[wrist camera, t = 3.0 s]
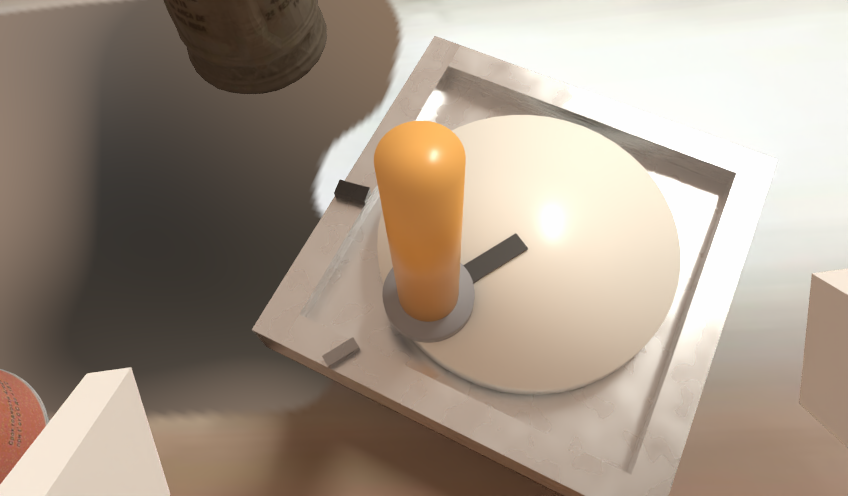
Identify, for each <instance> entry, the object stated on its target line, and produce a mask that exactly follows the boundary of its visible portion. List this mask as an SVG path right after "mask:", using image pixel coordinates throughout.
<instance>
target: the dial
mask: <svg viewBox="0 0 848 496" xmlns="http://www.w3.org/2000/svg"><path fill="white" fill-rule="evenodd" d="M374 168H375V173H376V179H377V184H378V189H379V195H380V200H381V206H382V212H381V217H380V222H379V227H378V239H377V252H378V263H379V268H380V273H381V277H382V281H383V292H382V297H383V304H384V308H385V312H386V315H387V317H388V319H389V321H390V323H391V324H392V325H393V327H394V328H395V329H396V330H397V331H398V332H399V333H401V334H402V335H404V336H405V337H407V338H409V339H411V340H412V341H413V342H414V343H415V344H416V345H417V346H418V347H419V348H420V349H421V350H422V351H423V352H424V353H425V354H426V355H428V356H429V357H430V358H431V359H433V360H434V361H435V362H437V363H438V364H439V365H441V366H442V367H443V368H445V369H447V370H448V371H450V372H452V373H454V374H455V375H457V376H459V377H460V378H463V379H465V380H467V381H470V382H472V383H475V384H477V385H479V386H483V387H486V388H490V389H493V390H497V391H501V392H508V393H515V394H534V395H543V394H551V393H560V392H565V391H569V390H573V389H577V388H581V387H584V386H586V385H589V384H591V383H594V382H596V381H599V380H601V379H603V378H604V377H606V376H608V375H610V374H611V373H613V372H615V371H616V370H618V369H619V368H621V367H622V366H623V365H624V364H626V363H627V362H628V361H629V360H631V359H632V358H633V357H634V356H635V355H636V354H637V353H638V352H639V351H640V350H641V349H642V348H643V347H644V346H645V345H646V344H647V343H648V342H649V340H650V339H651V338H652V337H653V336H654V335H655V333H656V332H657V331H658V329H659V328H660V326H661V325H662V323H663V322H664V320H665V318H666V316H667V314H668V312H669V310H670V308H671V306H672V304H673V301H674V298H675V294H676V291H677V288H678V283H679V276H680V269H681V248H680V241H679V235H678V230H677V226H676V223H675V220H674V216H673V213H672V211H671V209H670V207H669V205H668V202H667V200H666V198H665V196H664V195H663V193H662V191H661V190H660V188H659V187H658V185H657V183H656V182H655V180H654V179H653V178H652V177H651V176H650V174H649V173H648V172H647V171H646V169H645V168H644V167H643V166H642V165H641V164H640V163H639V162H638V161H637V160H636V159H635V158H634V157H632V156H631V155H630V154H629V153H628V152H626V151H625V150H624V149H622V148H621V147H620V146H619V145H617V144H616V143H614V142H613V141H611V140H609V139H608V138H606V137H604V136H602V135H601V134H599V133H597V132H594V131H592V130H590V129H588V128H586V127H583V126H580V125H577V124H574V123H571V122H568V121H565V120H560V119H556V118H551V117H545V116H535V115H507V116H498V117H491V118H487V119H482V120H478V121H475V122H472V123H469V124H466V125H463V126H460V127H458V128H456V129H454V130H452V131H451V130H450V129H448V128H447V127H445V126H443V125H441V124H438V123H435V122H431V121H411V122H406V123H403V124H400V125H398V126H396V127H394V128H393V129H391V130H390V131H389V132H387V133H386V134H385V135H384V136H383V137H382V139H381V140H380V141H379V143H378V145H377V147H376V150H375V154H374Z"/></svg>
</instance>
